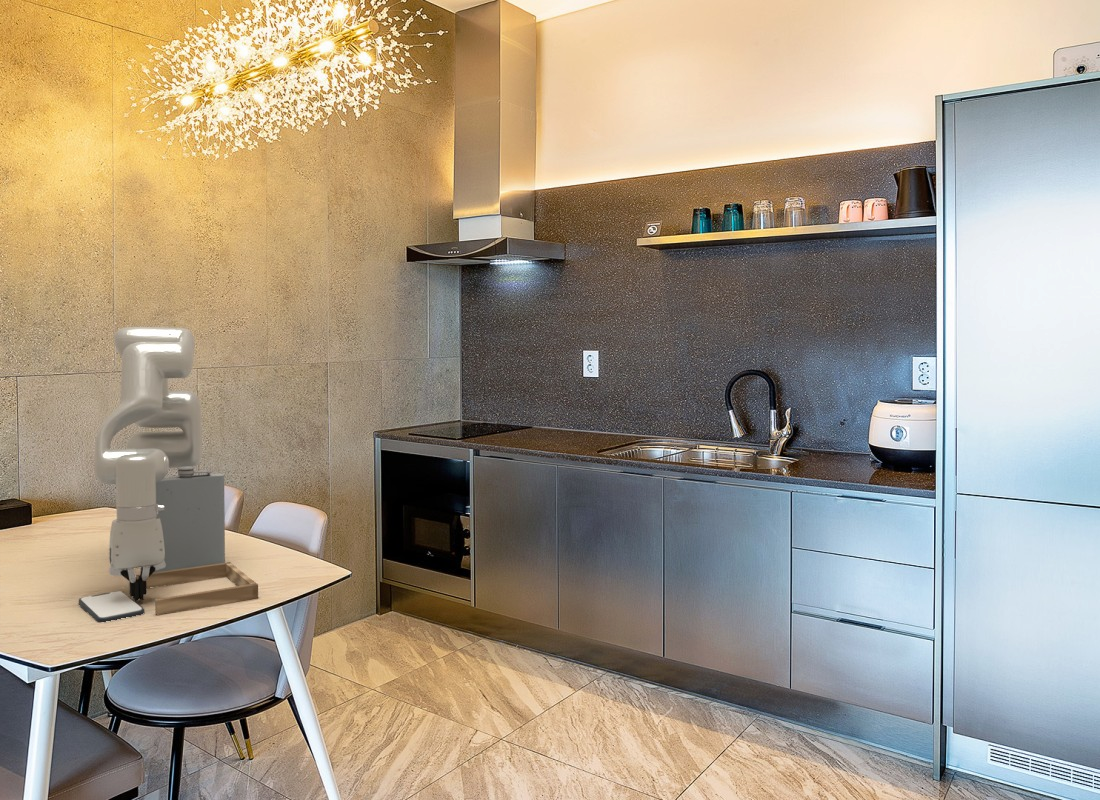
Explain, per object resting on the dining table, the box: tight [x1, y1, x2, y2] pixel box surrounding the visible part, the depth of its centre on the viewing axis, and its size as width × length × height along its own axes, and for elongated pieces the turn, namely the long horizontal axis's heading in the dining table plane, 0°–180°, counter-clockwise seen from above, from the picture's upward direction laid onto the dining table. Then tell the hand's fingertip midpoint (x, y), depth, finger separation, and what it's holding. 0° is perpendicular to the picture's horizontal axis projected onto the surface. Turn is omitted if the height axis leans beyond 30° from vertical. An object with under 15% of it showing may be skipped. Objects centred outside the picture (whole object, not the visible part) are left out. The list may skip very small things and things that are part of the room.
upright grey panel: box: [153, 466, 226, 573], centre depth 198 cm, size 17×5×25 cm, turn 131°
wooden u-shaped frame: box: [135, 561, 259, 615], centre depth 181 cm, size 21×20×3 cm
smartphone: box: [78, 590, 145, 623], centre depth 170 cm, size 9×2×16 cm
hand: (138, 598), depth 174 cm, fingers closed
